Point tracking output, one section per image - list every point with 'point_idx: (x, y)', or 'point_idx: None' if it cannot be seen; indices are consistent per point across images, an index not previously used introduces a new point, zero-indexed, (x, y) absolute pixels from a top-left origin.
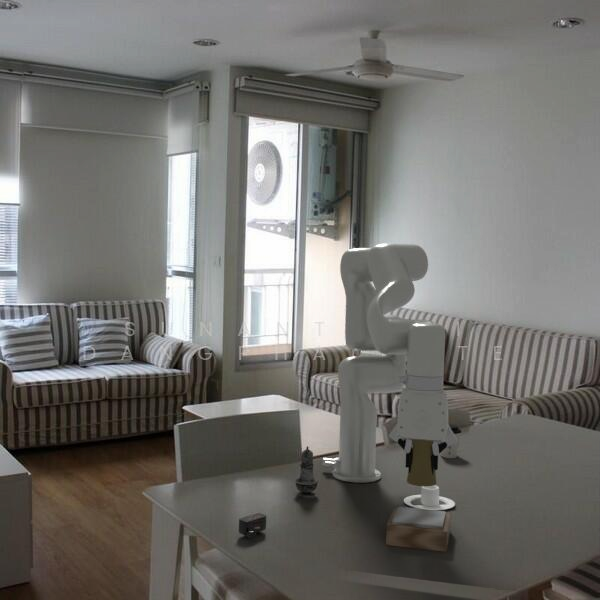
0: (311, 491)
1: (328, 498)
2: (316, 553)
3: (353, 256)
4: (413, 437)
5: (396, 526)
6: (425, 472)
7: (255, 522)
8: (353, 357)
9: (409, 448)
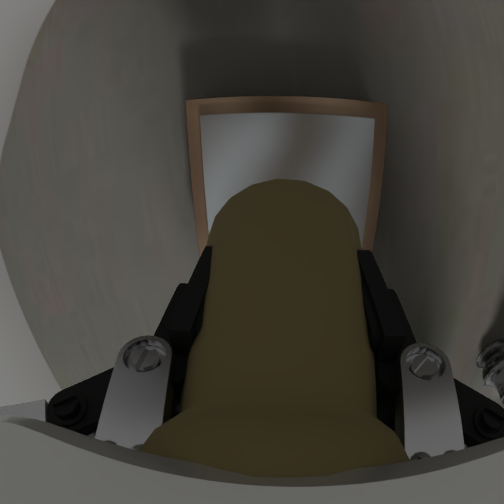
0: (491, 357)
1: (462, 356)
2: (499, 33)
3: None
4: (437, 486)
5: (356, 100)
6: (252, 223)
7: None
8: None
9: (413, 380)
